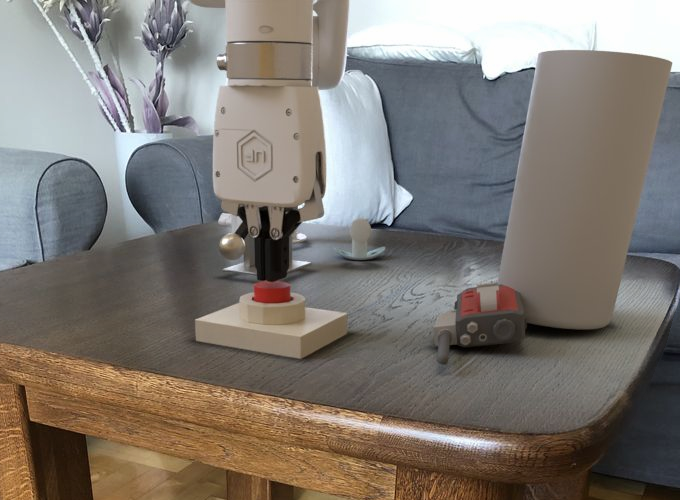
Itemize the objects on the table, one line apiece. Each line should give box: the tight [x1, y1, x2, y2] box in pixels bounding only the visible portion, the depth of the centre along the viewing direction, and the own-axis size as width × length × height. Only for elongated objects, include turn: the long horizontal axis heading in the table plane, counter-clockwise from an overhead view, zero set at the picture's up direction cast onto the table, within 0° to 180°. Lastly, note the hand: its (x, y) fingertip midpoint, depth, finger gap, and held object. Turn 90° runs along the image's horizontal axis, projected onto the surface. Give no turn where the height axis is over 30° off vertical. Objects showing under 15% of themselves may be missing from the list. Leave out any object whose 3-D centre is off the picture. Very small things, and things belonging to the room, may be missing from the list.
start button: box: [253, 280, 291, 304], centre depth 81 cm, size 4×4×2 cm
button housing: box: [194, 291, 348, 360], centre depth 82 cm, size 12×10×4 cm
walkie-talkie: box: [432, 281, 528, 366], centre depth 80 cm, size 9×4×20 cm
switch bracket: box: [222, 206, 312, 277], centre depth 108 cm, size 10×8×12 cm
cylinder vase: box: [497, 49, 673, 330], centre depth 84 cm, size 12×12×25 cm
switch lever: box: [218, 222, 249, 261], centre depth 104 cm, size 13×3×3 cm, turn 152°
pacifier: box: [333, 217, 386, 261], centre depth 115 cm, size 7×6×6 cm
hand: (272, 278), depth 80 cm, fingers closed
